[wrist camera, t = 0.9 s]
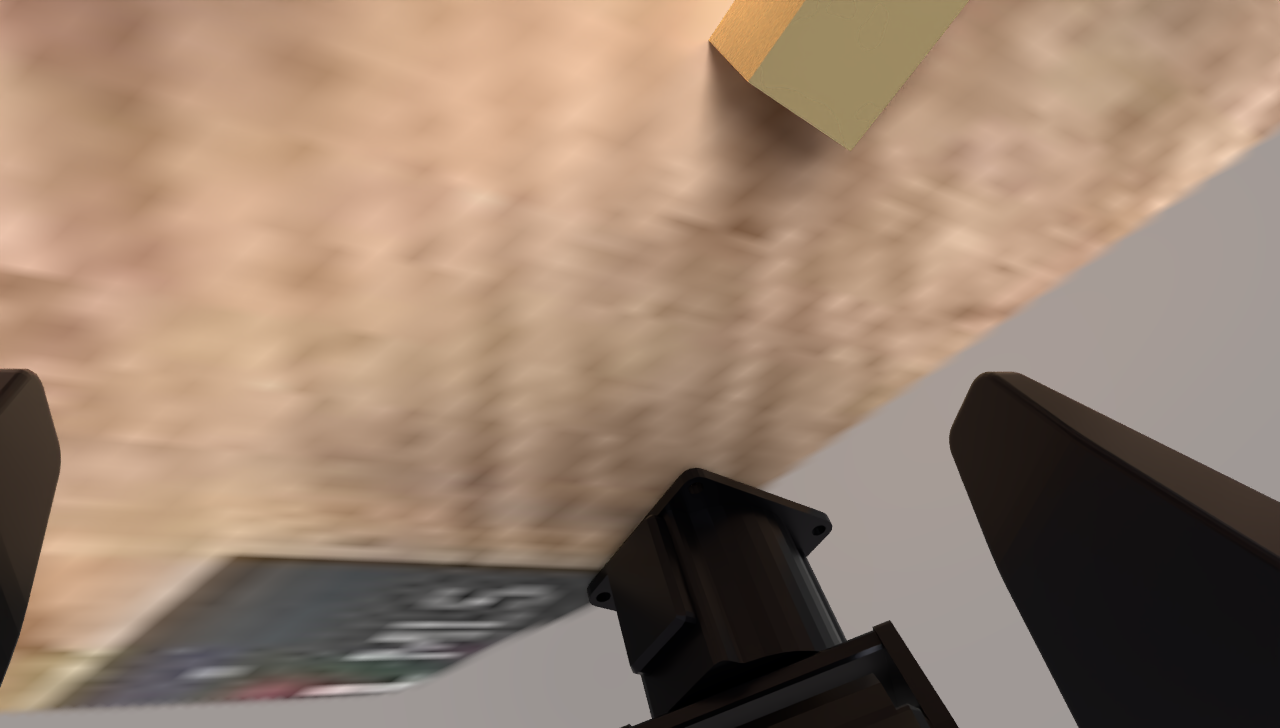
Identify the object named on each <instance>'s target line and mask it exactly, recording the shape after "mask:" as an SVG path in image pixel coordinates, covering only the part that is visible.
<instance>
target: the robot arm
mask: <svg viewBox="0 0 1280 728" xmlns="http://www.w3.org/2000/svg"><path fill="white" fill-rule="evenodd" d="M949 444H950V450H951V453H952V456H953V458H954V461H955V463H956V466H957V468H958V471H959V473H960V476H961V479H962V481H963V483H964V486H965V489H966V491H967V494H968V496H969V499H970V501H971V504H972V506H973V509H974V512H975V514H976V517H977V519H978V522H979V524H980V527H981V529H982V532H983V534H984V537H985V539H986V542H987V544H988V547H989V549H990V552H991V554H992V556H993V559H994V561H995V563H996V566H997V568H998V570H999V572H1000V574H1001V577H1002V579H1003V581H1004V583H1005V585H1006V587H1007V589H1008V591H1009V593H1010V594H1011V597H1012V599H1013V601H1014V602H1015V604H1016V606H1017V608H1018V610H1019V612H1020V614H1021V616H1022V618H1023V620H1024V622H1025V624H1026V626H1027V627H1028V629H1029V632H1030V634H1031V636H1032V638H1033V639H1034V641H1035V643H1036V645H1037V647H1038V649H1039V651H1040V653H1041V655H1042V657H1043V659H1044V661H1045V663H1046V665H1047V667H1048V668H1049V671H1050V673H1051V675H1052V677H1053V678H1054V680H1055V682H1056V684H1057V686H1058V688H1059V690H1060V692H1061V694H1062V696H1063V698H1064V700H1065V702H1066V704H1067V706H1068V708H1069V710H1070V712H1071V714H1072V715H1073V717H1074V719H1075V721H1076V723H1077V725H1078V727H1079V728H1280V502H1278V501H1276V500H1274V499H1272V498H1270V497H1268V496H1266V495H1264V494H1262V493H1260V492H1258V491H1256V490H1254V489H1252V488H1250V487H1248V486H1246V485H1244V484H1242V483H1240V482H1238V481H1236V480H1234V479H1232V478H1230V477H1228V476H1226V475H1224V474H1222V473H1220V472H1217V471H1215V470H1214V469H1212V468H1210V467H1207V466H1206V465H1204V464H1202V463H1200V462H1197V461H1195V460H1194V459H1191V458H1190V457H1187V456H1185V455H1183V454H1181V453H1179V452H1177V451H1175V450H1173V449H1171V448H1169V447H1167V446H1165V445H1163V444H1161V443H1159V442H1157V441H1155V440H1153V439H1151V438H1149V437H1147V436H1145V435H1143V434H1141V433H1139V432H1137V431H1135V430H1133V429H1131V428H1129V427H1127V426H1125V425H1123V424H1121V423H1119V422H1117V421H1115V420H1113V419H1111V418H1109V417H1107V416H1105V415H1103V414H1101V413H1099V412H1097V411H1095V410H1093V409H1091V408H1089V407H1087V406H1085V405H1083V404H1081V403H1079V402H1077V401H1075V400H1073V399H1070V398H1069V397H1067V396H1065V395H1063V394H1061V393H1059V392H1057V391H1055V390H1053V389H1050V388H1048V387H1047V386H1045V385H1042V384H1041V383H1038V382H1037V381H1035V380H1033V379H1030V378H1028V377H1026V376H1024V375H1022V374H1020V373H1015V372H985V373H982V374H980V375H979V376H978V377H977V378H976V379H975V380H974V381H973V383H972V384H971V387H970V389H969V391H968V393H967V395H966V397H965V399H964V402H963V404H962V406H961V408H960V410H959V412H958V414H957V416H956V418H955V420H954V423H953V425H952V427H951V430H950V435H949ZM60 466H61V452H60V445H59V441H58V437H57V434H56V430H55V427H54V423H53V420H52V416H51V412H50V409H49V405H48V402H47V398H46V395H45V391H44V387H43V385H42V382H41V380H40V379H39V377H38V376H37V374H35V373H34V372H32V371H31V370H29V369H0V687H1V684H2V682H3V679H4V676H5V674H6V671H7V669H8V666H9V664H10V661H11V658H12V655H13V652H14V649H15V646H16V644H17V641H18V638H19V635H20V631H21V628H22V624H23V621H24V617H25V613H26V610H27V606H28V602H29V597H30V593H31V589H32V585H33V581H34V577H35V573H36V569H37V565H38V560H39V556H40V552H41V548H42V544H43V540H44V536H45V532H46V527H47V523H48V519H49V515H50V511H51V507H52V503H53V499H54V495H55V490H56V486H57V482H58V478H59V473H60ZM697 482H698V483H697ZM693 483H697V484H695V485H692V484H693ZM831 530H832V524H831V522H830V520H829V518H828V516H827V515H826V514H825V513H823V512H821V511H818V510H815V509H812V508H809V507H807V506H804V505H801V504H798V503H795V502H793V501H790V500H787V499H784V498H782V497H779V496H776V495H773V494H771V493H768V492H765V491H762V490H759V489H757V488H754V487H751V486H748V485H746V484H743V483H740V482H737V481H734V480H732V479H729V478H726V477H723V476H720V475H718V474H715V473H712V472H709V471H707V470H704V469H700V468H693V469H689V470H687V471H685V472H684V473H683V474H681V475H680V476H679V478H678V479H677V480H676V481H675V482H674V484H673V485H672V486H671V487H670V488H669V490H668V491H667V492H666V493H665V494H664V496H663V497H662V498H661V499H660V500H659V502H658V503H657V504H656V505H655V506H654V508H653V509H652V510H651V511H650V512H649V514H648V515H647V516H646V517H645V518H644V520H643V521H642V522H641V523H640V524H639V526H638V527H637V528H636V529H635V530H634V532H633V533H632V534H631V535H630V536H629V538H628V539H627V540H626V541H625V542H624V544H623V545H622V546H621V547H620V548H619V550H618V551H617V552H616V553H615V554H614V556H613V557H612V558H611V559H610V560H609V562H608V563H607V564H606V565H605V566H604V568H603V569H602V570H601V571H600V572H599V574H598V575H597V576H596V577H595V578H594V580H593V581H592V582H591V583H590V584H589V586H588V588H587V593H588V597H589V601H590V603H591V604H592V605H594V606H597V607H601V608H606V609H610V610H614V611H617V615H618V619H619V623H620V627H621V631H622V635H623V639H624V643H625V647H626V651H627V655H628V659H629V663H630V666H631V669H632V671H633V673H635V674H640V675H641V677H642V682H643V685H644V689H645V693H646V697H647V701H648V705H649V709H650V713H651V717H652V719H650V720H647V721H645V722H642V723H640V724H637V725H635V726H631V725H630V724H628V725H626V726H623V727H621V728H958V726H957V724H956V723H955V721H954V719H953V718H952V716H951V715H950V713H949V711H948V710H947V708H946V707H945V705H944V704H943V702H942V700H941V699H940V697H939V696H938V694H937V693H936V691H935V690H934V688H933V686H932V685H931V683H930V682H929V680H928V679H927V677H926V676H925V674H924V672H923V671H922V669H921V668H920V666H919V665H918V663H917V661H916V660H915V658H914V657H913V655H912V654H911V652H910V651H909V649H908V648H907V646H906V644H905V643H904V641H903V640H902V638H901V637H900V635H899V634H898V632H897V631H896V629H895V627H894V626H893V624H892V623H891V621H890V620H889V621H886V622H884V623H881V624H879V625H876V626H874V627H873V631H870V632H868V633H865V634H863V635H860V636H858V637H855V638H853V639H850V640H848V641H847V640H846V638H845V636H844V634H843V632H842V630H841V628H840V626H839V624H838V622H837V619H836V617H835V615H834V613H833V611H832V610H831V607H830V605H829V603H828V601H827V599H826V597H825V595H824V593H823V591H822V589H821V587H820V585H819V583H818V580H817V578H816V576H815V574H814V572H813V570H812V568H811V566H810V564H809V562H808V560H807V558H806V557H807V556H808V555H809V554H810V553H811V551H813V550H814V549H815V548H816V546H818V544H820V542H821V541H822V540H823V539H824V538H825V537H826V536H827V535H828V534H829V533H830V532H831Z"/></svg>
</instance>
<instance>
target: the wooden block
mask: <svg viewBox="0 0 1280 728" xmlns="http://www.w3.org/2000/svg"><path fill="white" fill-rule="evenodd" d="M968 1H969V0H735V1H734V3H733V4H732V6H731V7H730V9H729V10H728V12H727V13H726V15H725V16H724V18H723V19H722V21H721V22H720V24H719V25H718V27H717V28H716V30H715V31H714V33H713V34H712V36H711V37H710V39H709V41H710V42H711V43H712V44H713V45H714V46H715V48H716V49H717V50H718V51H719V52H720V53H721V54H722V55H723V56H724V57H725V58H726V59H727V60H728V61H729V62H730V63H731V65H732V66H733V67H734V68H735V69H736V70H737V71H738V72H739V73H740V74H741V75H742V76H743V77H744V78H745V79H746V81H747V82H749V83H750V84H752V85H753V86H754V87H756V88H757V89H759V90H760V91H762V92H763V93H765V94H766V95H768V96H769V97H771V98H772V99H774V100H775V101H777V102H778V103H780V104H781V105H783V106H784V107H786V108H787V109H788V110H790V111H791V112H793V113H794V114H796V115H797V116H799V117H800V118H802V119H803V120H805V121H806V122H808V123H809V124H811V125H812V126H814V127H815V128H817V129H818V130H819V131H821V132H822V133H824V134H825V135H827V136H828V137H830V138H831V139H833V140H834V141H836V142H837V143H839V144H840V145H842V146H843V147H845V148H846V149H848V150H849V151H851V150H852V149H853V148H854V146H855V145H856V144H857V142H858V141H859V140H860V139H861V137H862V136H863V135H864V134H865V132H866V131H867V130H868V128H869V127H870V126H871V125H872V123H873V122H874V121H875V120H876V118H877V117H878V116H879V114H880V113H881V112H882V111H883V109H884V108H885V107H886V106H887V104H888V103H889V102H890V100H891V99H892V98H893V97H894V95H895V94H896V93H897V92H898V90H899V89H900V88H901V86H902V85H903V84H904V83H905V81H906V80H907V79H908V78H909V76H910V75H911V74H912V72H913V71H914V70H915V69H916V67H917V66H918V65H919V64H920V62H921V61H922V60H923V59H924V57H925V56H926V55H927V53H928V52H929V51H930V50H931V48H932V47H933V46H934V45H935V43H936V42H937V41H938V39H939V38H940V37H941V36H942V34H943V33H944V32H945V31H946V29H947V28H948V27H949V25H950V24H951V23H952V22H953V20H954V19H955V18H956V17H957V15H958V14H959V13H960V11H961V10H962V9H963V8H964V6H965V5H966V4H967V3H968Z"/></svg>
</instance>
